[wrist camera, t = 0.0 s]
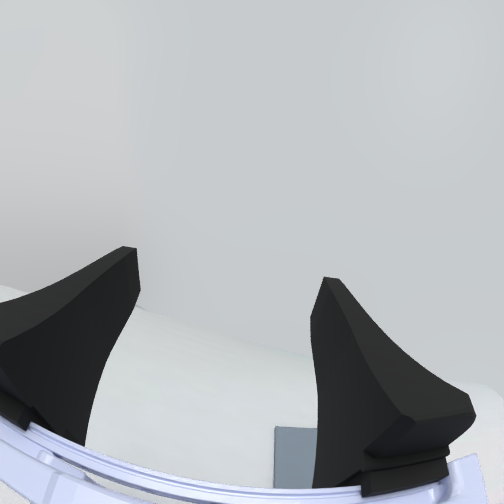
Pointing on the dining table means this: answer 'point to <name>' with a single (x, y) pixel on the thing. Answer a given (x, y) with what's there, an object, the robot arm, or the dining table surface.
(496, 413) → the dining table surface
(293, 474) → the slate mat
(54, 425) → the robot arm
